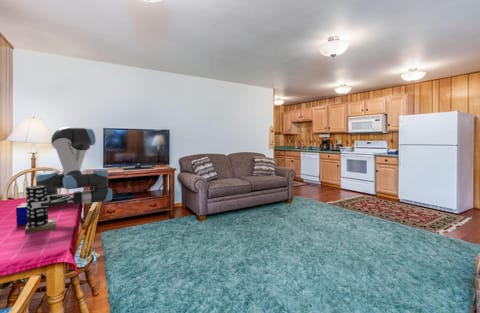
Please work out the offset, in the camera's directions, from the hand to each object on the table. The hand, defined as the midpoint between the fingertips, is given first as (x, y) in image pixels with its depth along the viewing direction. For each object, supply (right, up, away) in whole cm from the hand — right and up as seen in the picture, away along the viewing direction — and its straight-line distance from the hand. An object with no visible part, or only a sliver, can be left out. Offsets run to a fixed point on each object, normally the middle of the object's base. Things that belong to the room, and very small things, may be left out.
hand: (33, 202), depth 124 cm
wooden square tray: (+2, -14, +3) cm, 14 cm away
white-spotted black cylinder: (+2, -12, +1) cm, 12 cm away
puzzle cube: (-11, -13, +11) cm, 20 cm away
